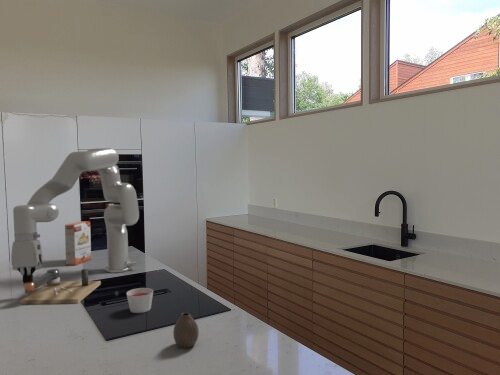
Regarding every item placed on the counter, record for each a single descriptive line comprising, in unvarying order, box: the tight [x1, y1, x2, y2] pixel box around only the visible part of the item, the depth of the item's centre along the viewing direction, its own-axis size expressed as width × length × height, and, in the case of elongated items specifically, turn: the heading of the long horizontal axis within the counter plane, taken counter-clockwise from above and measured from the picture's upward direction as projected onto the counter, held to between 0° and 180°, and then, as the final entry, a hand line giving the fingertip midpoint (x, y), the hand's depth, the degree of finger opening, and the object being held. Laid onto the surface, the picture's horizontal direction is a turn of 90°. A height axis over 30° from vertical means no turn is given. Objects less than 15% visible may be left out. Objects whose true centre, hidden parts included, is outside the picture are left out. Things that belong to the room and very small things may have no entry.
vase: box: [172, 312, 199, 349], centre depth 110 cm, size 7×7×9 cm
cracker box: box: [64, 220, 92, 266], centre depth 209 cm, size 14×6×21 cm, turn 168°
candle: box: [126, 287, 154, 314], centre depth 138 cm, size 9×9×6 cm
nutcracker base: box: [19, 268, 102, 305], centre depth 157 cm, size 21×23×8 cm
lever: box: [23, 268, 60, 294], centre depth 155 cm, size 22×4×3 cm, turn 1°
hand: (28, 284), depth 153 cm, fingers closed
